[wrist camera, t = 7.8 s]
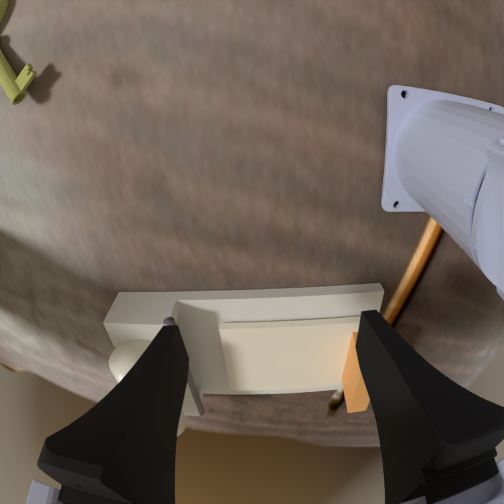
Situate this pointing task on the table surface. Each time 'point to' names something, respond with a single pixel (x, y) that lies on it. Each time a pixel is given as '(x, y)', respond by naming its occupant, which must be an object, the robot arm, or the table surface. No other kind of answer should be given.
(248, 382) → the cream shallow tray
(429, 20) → the table surface
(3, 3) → the key
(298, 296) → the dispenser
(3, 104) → the table surface
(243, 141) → the table surface
